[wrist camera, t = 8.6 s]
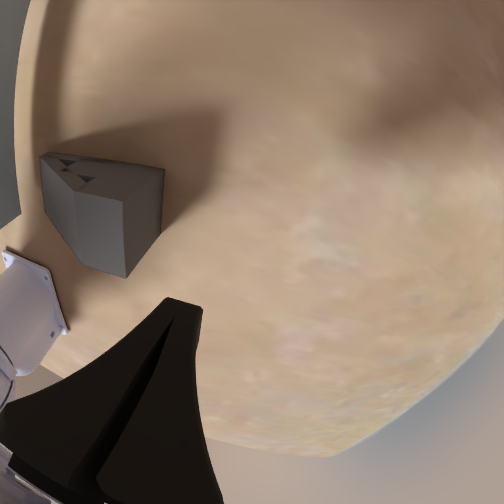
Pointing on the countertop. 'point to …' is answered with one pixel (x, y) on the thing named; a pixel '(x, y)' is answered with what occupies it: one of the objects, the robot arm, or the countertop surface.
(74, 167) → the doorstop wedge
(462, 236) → the countertop surface
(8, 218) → the long pale blue beam
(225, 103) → the countertop surface
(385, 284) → the countertop surface
